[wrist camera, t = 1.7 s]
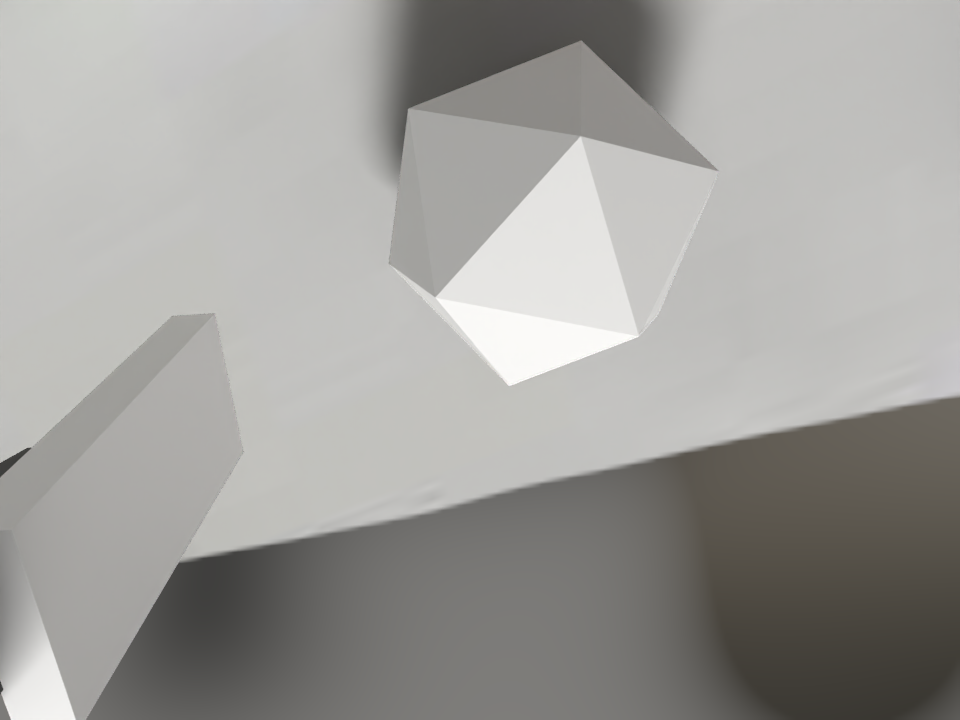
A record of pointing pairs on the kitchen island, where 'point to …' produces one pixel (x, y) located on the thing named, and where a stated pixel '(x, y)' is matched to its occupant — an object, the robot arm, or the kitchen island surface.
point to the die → (545, 211)
